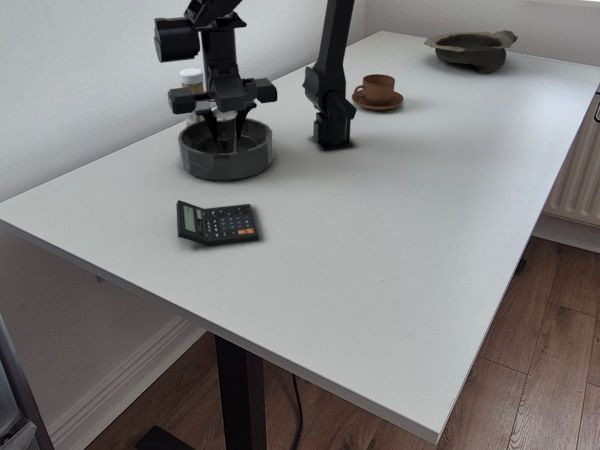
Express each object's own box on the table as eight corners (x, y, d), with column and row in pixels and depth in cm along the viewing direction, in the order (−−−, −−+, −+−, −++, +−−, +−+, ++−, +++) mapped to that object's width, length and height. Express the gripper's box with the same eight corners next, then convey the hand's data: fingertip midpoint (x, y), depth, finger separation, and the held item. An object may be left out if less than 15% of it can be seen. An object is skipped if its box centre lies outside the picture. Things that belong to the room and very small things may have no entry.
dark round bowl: (258, 137, 113) (257, 112, 110) (284, 173, 100) (284, 146, 97) (175, 149, 109) (171, 123, 106) (191, 189, 95) (187, 161, 92)
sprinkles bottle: (212, 136, 114) (206, 72, 107) (192, 141, 112) (184, 76, 104) (203, 129, 117) (196, 66, 110) (183, 133, 115) (175, 70, 108)
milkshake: (245, 149, 105) (243, 99, 100) (232, 160, 101) (230, 108, 95) (223, 145, 106) (221, 95, 101) (210, 156, 102) (207, 104, 97)
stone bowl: (526, 77, 145) (532, 41, 140) (431, 84, 146) (433, 49, 141) (499, 50, 165) (503, 18, 160) (416, 56, 167) (417, 24, 162)
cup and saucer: (378, 118, 122) (381, 91, 119) (340, 104, 129) (341, 78, 126) (413, 105, 129) (416, 79, 125) (375, 92, 136) (377, 67, 133)
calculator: (258, 240, 82) (257, 223, 80) (179, 249, 80) (177, 232, 78) (250, 208, 90) (249, 192, 88) (178, 216, 88) (175, 200, 86)
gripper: (171, 75, 84) (183, 166, 93) (286, 63, 90) (288, 150, 98) (161, 56, 93) (173, 140, 102) (266, 45, 98) (269, 126, 107)
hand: (226, 139), depth 102 cm, fingers closed on milkshake, 4 cm apart
